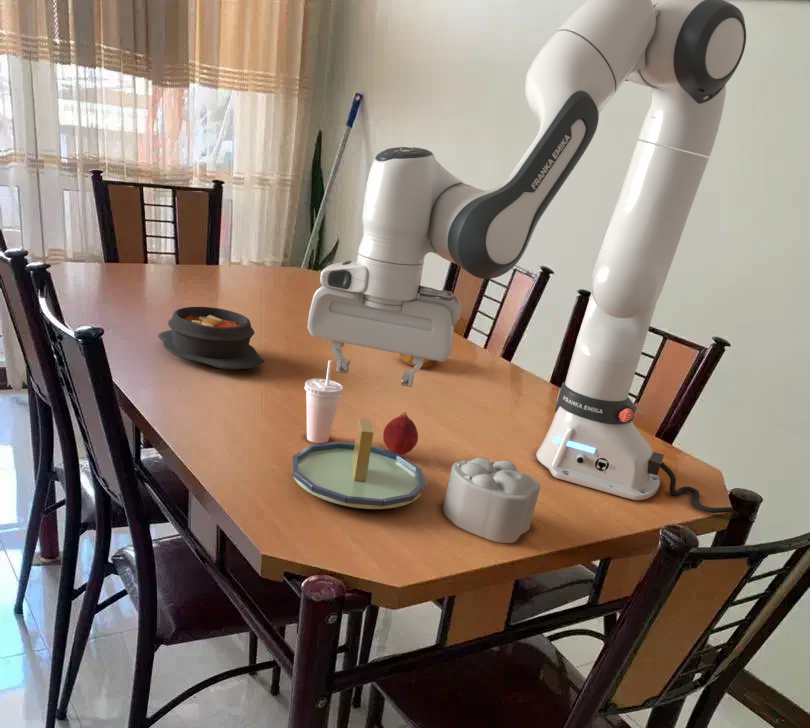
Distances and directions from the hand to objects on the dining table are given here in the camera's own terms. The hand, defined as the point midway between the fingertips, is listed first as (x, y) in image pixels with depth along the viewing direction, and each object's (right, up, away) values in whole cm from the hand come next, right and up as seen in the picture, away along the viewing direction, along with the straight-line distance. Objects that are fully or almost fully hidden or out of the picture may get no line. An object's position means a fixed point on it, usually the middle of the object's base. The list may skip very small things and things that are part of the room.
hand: (374, 378), depth 115 cm
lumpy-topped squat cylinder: (+16, -20, +6) cm, 26 cm away
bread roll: (+8, +18, +72) cm, 75 cm away
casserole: (-36, +14, +50) cm, 63 cm away
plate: (-3, -14, +8) cm, 16 cm away
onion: (+3, -9, +22) cm, 24 cm away
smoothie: (-11, -6, +23) cm, 26 cm away
